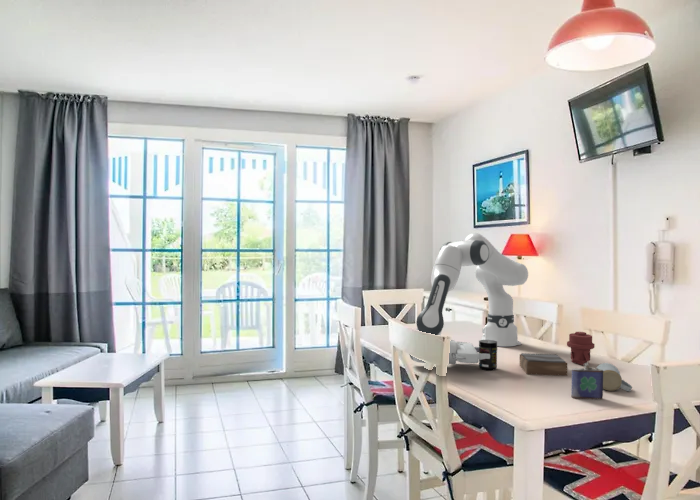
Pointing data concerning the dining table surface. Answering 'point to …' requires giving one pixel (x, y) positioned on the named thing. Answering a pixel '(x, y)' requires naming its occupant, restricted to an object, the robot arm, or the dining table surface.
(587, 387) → the flask
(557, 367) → the walnut stand
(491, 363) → the supplement container
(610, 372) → the ceramic mug
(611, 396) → the dining table surface
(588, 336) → the mechanical component
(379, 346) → the dining table surface
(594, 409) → the dining table surface
